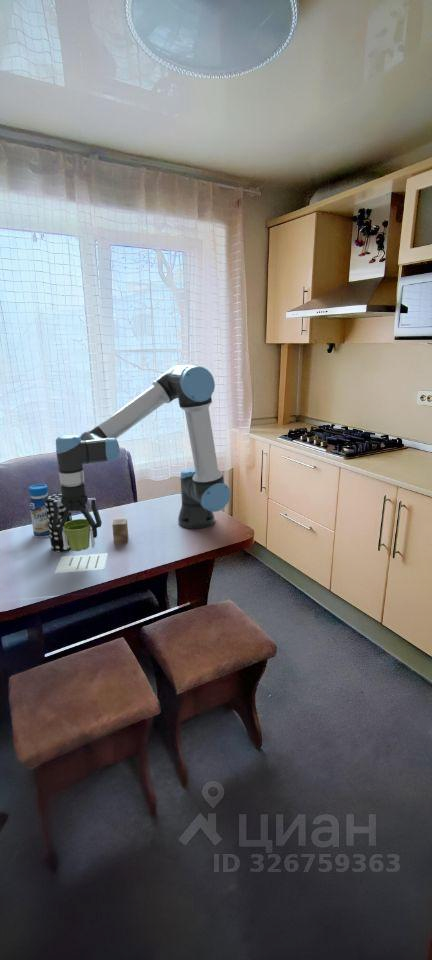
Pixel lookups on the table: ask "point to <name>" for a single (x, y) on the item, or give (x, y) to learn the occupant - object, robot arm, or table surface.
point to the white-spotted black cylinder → (54, 534)
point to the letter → (81, 563)
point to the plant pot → (78, 534)
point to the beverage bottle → (39, 510)
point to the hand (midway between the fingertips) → (79, 546)
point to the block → (120, 531)
